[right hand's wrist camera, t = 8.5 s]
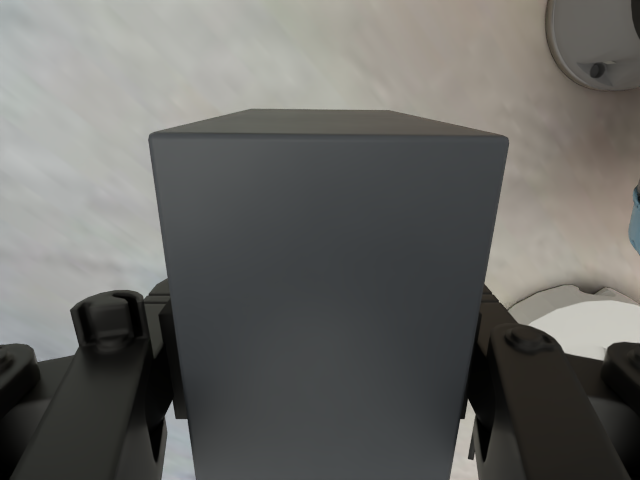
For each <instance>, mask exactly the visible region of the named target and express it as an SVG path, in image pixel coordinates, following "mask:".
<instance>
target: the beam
mask: <svg viewBox="0 0 640 480" xmlns="http://www.w3.org/2000/svg"><path fill="white" fill-rule="evenodd" d="M148 140H149V147H150V155H151V162H152V169H153V176H154V183H155V190H156V197H157V205H158V212H159V219H160V226H161V233H162V240H163V247H164V255H165V262H166V269H167V276H168V283H169V290H170V297H171V304H172V312H173V319H174V326H175V333H176V340H177V347H178V354H179V362H180V369H181V376H182V383H183V390H184V397H185V404H186V412H187V419H188V426H189V433H190V440H191V447H192V454H193V462H194V469H195V476H196V480H449V479H450V474H451V468H452V462H453V457H454V451H455V445H456V440H457V434H458V429H459V423H460V417H461V412H462V406H463V400H464V395H465V389H466V383H467V378H468V372H469V367H470V361H471V355H472V350H473V344H474V338H475V333H476V327H477V321H478V316H479V310H480V304H481V299H482V293H483V288H484V282H485V276H486V271H487V265H488V259H489V254H490V248H491V242H492V237H493V231H494V226H495V220H496V214H497V209H498V203H499V197H500V192H501V186H502V180H503V175H504V169H505V164H506V158H507V152H508V147H509V140H508V138H507V137H505V136H503V135H499V134H495V133H490V132H485V131H481V130H476V129H472V128H467V127H463V126H458V125H453V124H449V123H444V122H440V121H435V120H431V119H426V118H421V117H417V116H412V115H408V114H403V113H399V112H394V111H389V110H310V109H249V110H244V111H240V112H236V113H232V114H228V115H223V116H219V117H215V118H211V119H207V120H202V121H198V122H194V123H190V124H186V125H182V126H177V127H173V128H169V129H165V130H161V131H156V132H153V133H151V134H150V135H149V139H148Z"/></svg>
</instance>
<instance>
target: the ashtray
mask: <svg viewBox="0 0 640 480" xmlns="http://www.w3.org/2000/svg"><path fill="white" fill-rule="evenodd" d="M578 288H579V287H576V286H573V285H563V286H559V287H556V288H552V289H549V290H545V291H542V292H538V293H536V294H534V295H532V296H530V297H529V298H527V299H525V300H523V301H521V302H519V303H517V304H515V305H514V306H513V307H512V308H510V309H509V310H508V312H509V313H510V314H511V315H512V317H513V318H514V319H515V320H516V321H517V322H518V323H519V324H523V325H528V326H532V327H534V328H537V329H539V330H542V331H544V332H546V333H547V334H549V335H550V336H552V337H553V338H555V339H556V341H557V342H558V343H559V344H560V345H561V347H562V349H563V351H564V353H567V354H571V355H576V356H582V357H587V358H592V359H598V360H604V357H605V354H606V351H607V347H609V346H610V345H611V344H613V343H618V342H632V343H640V304H639V303H637V302H635V301H634V300H632V299H631V298H629V297H627V296H625V295H623V294H621V293H619V292H617V291H615V290H613V289H611V288H607V287H605V288H603V289H602V290H600V291H599V292H597V293H595V294H594V295H592V294H587V293H584V292H582V291H580V290H579V289H578Z"/></svg>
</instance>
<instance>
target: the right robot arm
mask: <svg viewBox="0 0 640 480" xmlns="http://www.w3.org/2000/svg"><path fill="white" fill-rule="evenodd" d="M546 34H547V40H548V44H549V48H550V51H551V54H552V56H553V58H554V60H555V62H556V63H557V65H558V66H559V68H560V69H561V70H562V71H563V73H564V74H565V75H566V76H568V77H569V78H570V79H571V80H573V81H574V82H576V83H578V84H579V85H582V86H584V87H586V88H590V89H594V90H601V91H618V90H628V89H633V88H638V87H640V0H548V5H547V12H546ZM633 201H634V206H633V211H632V215H631V220H630V225H629V231H628V233H629V239H630V242H631V244H632V245H633V247H634V248H635V250H636V251H637V252H638V254H639V255H640V180H639V183H638V185H637V187H636V188H635V189H634V191H633ZM70 312H71V316H72V320H73V324H74V328H75V331H76V335H77V339H78V343H79V348H78V350H77V351H76V353H75V355H72V356H68V357H63V358H57V359H52V360H47V361H41V362H37V359H36V356H35V353H34V350H33V348H31V347H30V346H28V345H25V344H17V343H16V344H7V345H0V480H161V478H162V471H163V463H164V455H165V447H166V440H167V427H166V421H165V414H166V412H167V410H168V408H169V406H170V404H171V402H172V400H173V406H174V412H175V418H176V419H187V412H186V404H185V397H184V390H183V383H182V376H181V369H180V362H179V354H178V347H177V340H176V333H175V326H174V319H173V312H172V304H171V297H170V290H169V283H168V278H167V279H165V280H164V281H162V282H160V283H159V284H157V285H156V286H155V287H154V288H153V289H152V291H151V292H150V293H149V296H146V298H145V299H143V296H142V295H141V294H140V293H138V292H135V291H130V290H114V291H109V292H104V293H100V294H97V295H94V296H91V297H88V298H86V299H84V300H82V301H80V302H79V303H77V304H76V305H75V306H74V307H73V308H72V309H71V310H70ZM468 399H469V401H470V403H471V405H472V407H473V409H474V412H475V414H476V416H475V421H474V427H473V432H472V438H471V443H470V449H469V455H468V459H471V460H473V459H474V454H476V462H477V470H478V477H479V480H640V343H632V342H618V343H613V344H611V345H610V346H609V347H607V351H606V354H605V357H604V360H598V359H592V358H587V357H582V356H576V355H571V354H567V353H564V351H563V349H562V347H561V345H560V344H559V343H558V342H557V341H556V339H555V338H553V337H552V336H550V335H549V334H547V333H546V332H544V331H542V330H539V329H537V328H534V327H532V326H528V325H523V324H519V323H518V322H517V321H516V320H515V319H514V318H513V317H512V315H511V314H510V313H509V312H508V311H507V310H506V308H505V307H504V306H503V305H502V304H501V303H499V300H498V299H497V298H496V297H495V296H494V295H492V292H491V291H490V290H489V289H488V288H487V286H486V285H485V284H484V288H483V293H482V299H481V304H480V310H479V316H478V321H477V327H476V333H475V338H474V344H473V350H472V355H471V361H470V367H469V372H468V378H467V383H466V389H465V395H464V400H463V406H462V412H461V417H460V419H465V413H466V407H467V401H468Z"/></svg>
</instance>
